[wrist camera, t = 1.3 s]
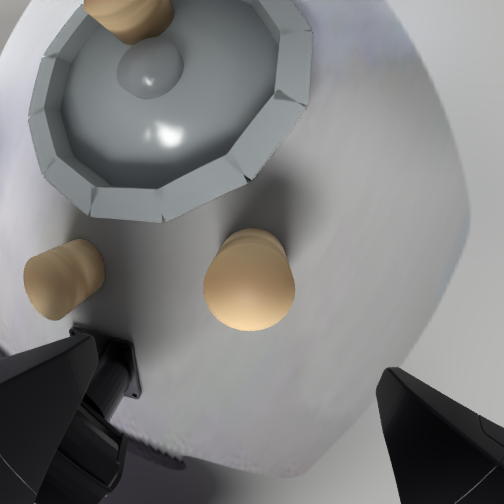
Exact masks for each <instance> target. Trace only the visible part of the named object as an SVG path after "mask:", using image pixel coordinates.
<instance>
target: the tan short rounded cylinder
mask: <svg viewBox="0 0 504 504" xmlns="http://www.w3.org/2000/svg"><path fill="white" fill-rule="evenodd" d="M84 10H85V11H86V12H87V13H88V14H89V15H91V16H92V17H93V18H94V19H96V20H97V21H98V22H99V23H100V24H102V25H103V26H104V27H105V28H106V29H108V30H109V31H110V32H111V33H112V34H113V35H115V36H116V37H117V38H118V39H119V40H120V41H122V42H123V43H125V44H127V45H134V44H136V43H137V42H139V41H141V40H144V39H147V38H152V37H158V36H160V35H161V34H162V33H163V32H165V31H166V30H167V28H168V27H169V26H170V24H171V23H172V21H173V19H174V15H175V11H174V7H173V6H172V4H171V2H170V0H84Z"/></svg>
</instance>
